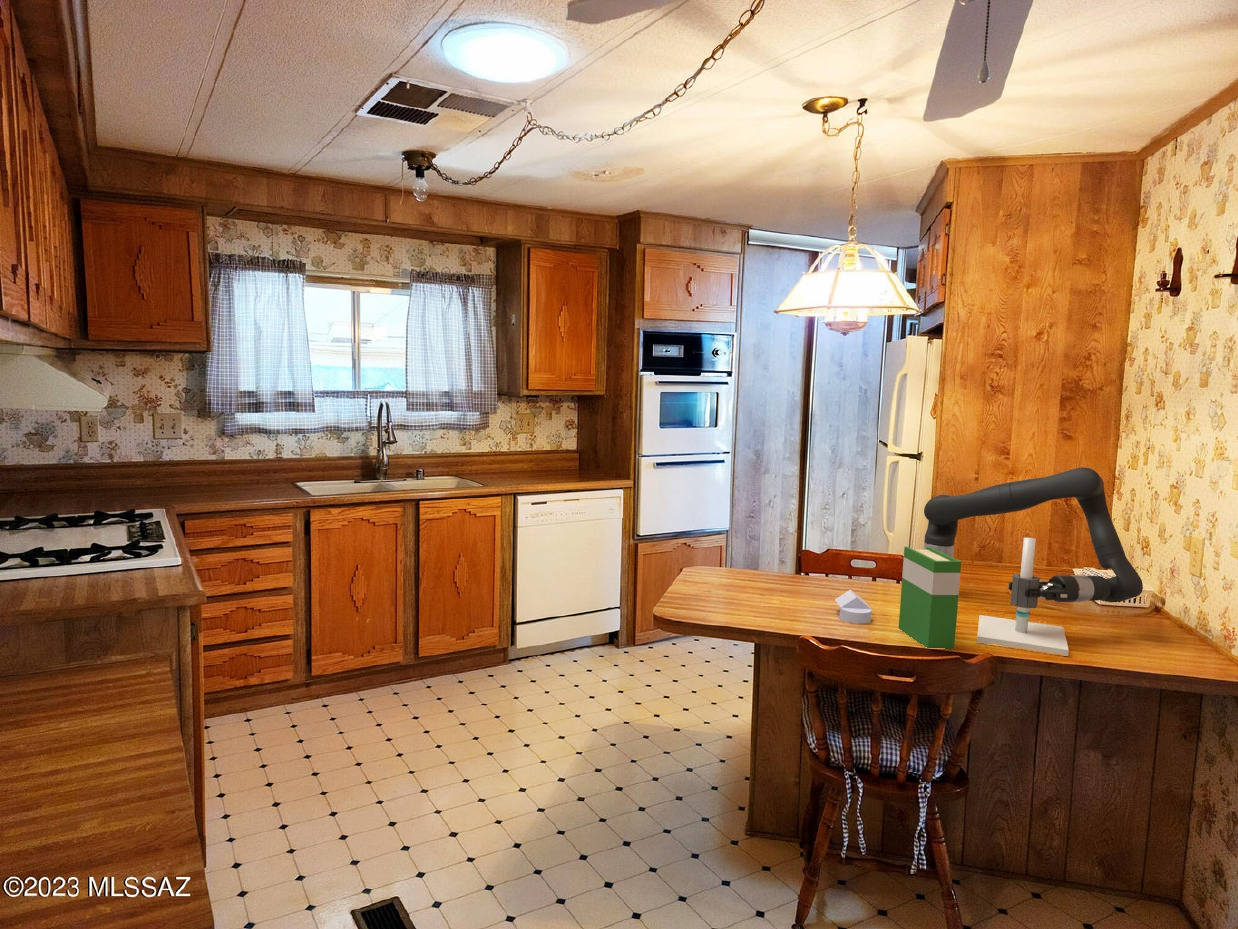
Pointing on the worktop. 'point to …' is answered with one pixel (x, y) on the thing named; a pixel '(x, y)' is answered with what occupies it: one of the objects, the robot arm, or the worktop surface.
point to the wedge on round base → (853, 608)
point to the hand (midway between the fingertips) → (1017, 589)
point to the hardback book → (929, 597)
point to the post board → (1022, 639)
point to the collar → (1019, 591)
